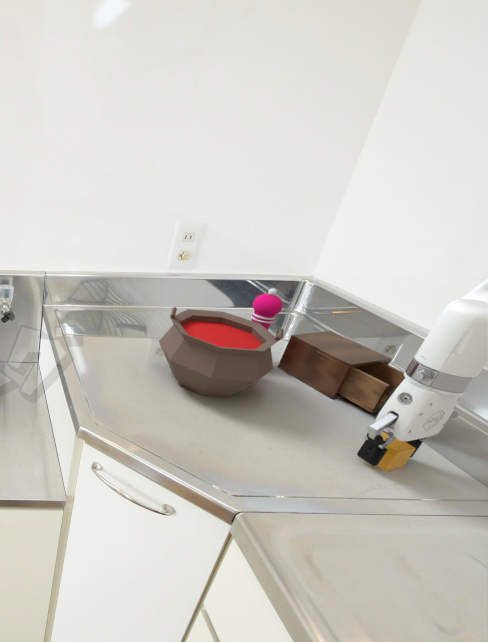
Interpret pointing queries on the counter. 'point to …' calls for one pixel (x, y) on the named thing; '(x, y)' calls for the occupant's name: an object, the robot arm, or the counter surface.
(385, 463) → the block
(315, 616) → the counter surface
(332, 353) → the cabinet
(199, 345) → the brown cooking pot
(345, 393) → the drawer
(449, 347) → the robot arm
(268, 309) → the pepper mill
